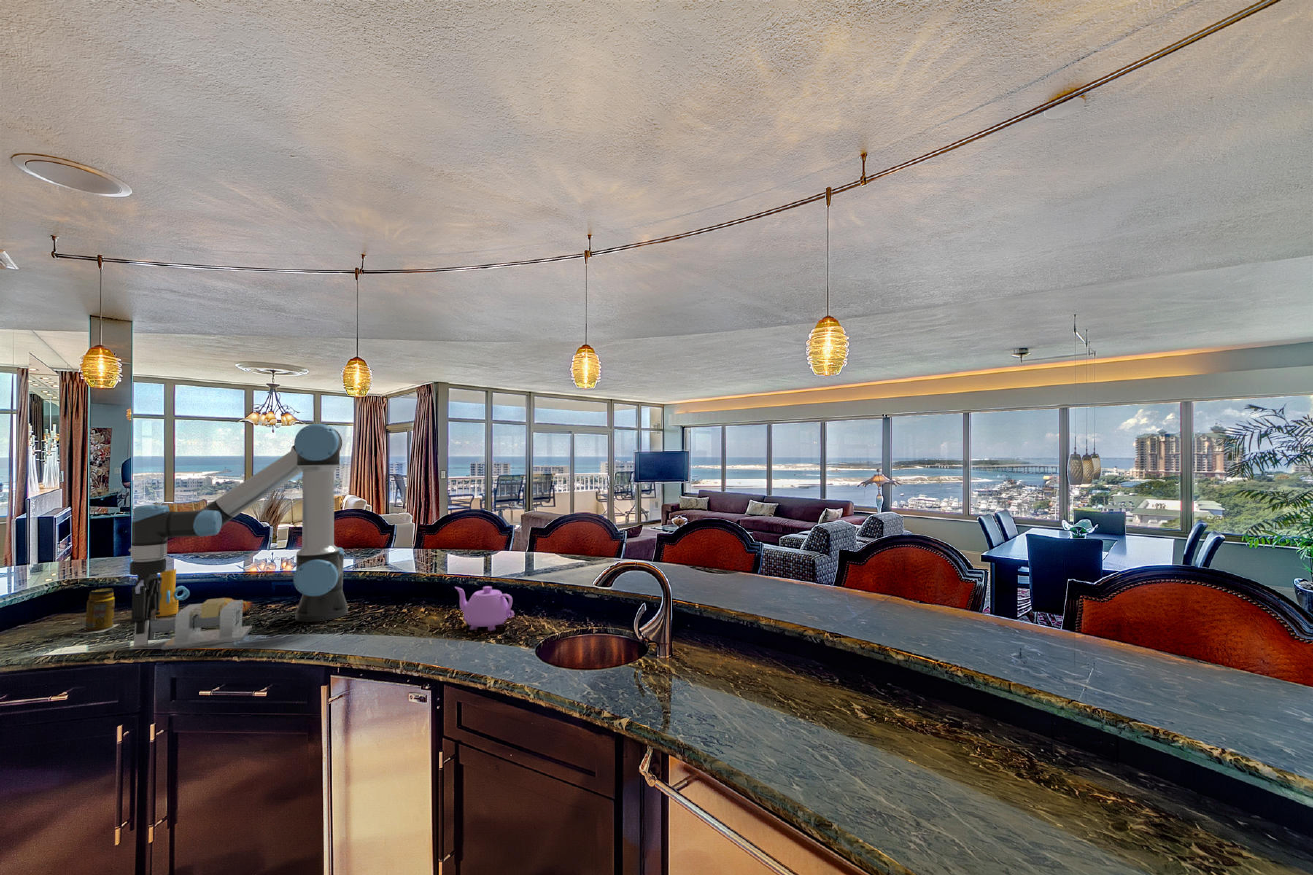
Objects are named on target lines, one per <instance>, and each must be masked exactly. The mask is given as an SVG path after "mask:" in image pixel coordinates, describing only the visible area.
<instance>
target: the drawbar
mask: <svg viewBox="0 0 1313 875" xmlns="http://www.w3.org/2000/svg"><path fill="white" fill-rule="evenodd" d="M155 613H156V609H149V610H148V618H147V621H148V620H149V630H148V641H151V640H150V639H152V638H153V637H154V634H155V635H156V633H158V632H160V633H161V632H170V631H171V632H172V631H175V620H176V616H173V617H163V618H156V619H155ZM238 621H239V611H237V612H236V623H237V622H238ZM218 626H220V615H219V616H218V617H208V618H201V615H195V616H194V617H193V628H199V627H201V628H208V627H218Z"/></svg>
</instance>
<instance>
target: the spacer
mask: <svg viewBox="0 0 1313 875" xmlns="http://www.w3.org/2000/svg"><path fill="white" fill-rule="evenodd" d="M225 598H226V597H220V598H209V599H206V600H205V601H204V602H202V603H201V604H202V605H201V618H208V617H218V616H219V615H220V610H221V609H222V608H223V607H224V603H225Z"/></svg>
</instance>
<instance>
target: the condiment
mask: <svg viewBox="0 0 1313 875" xmlns="http://www.w3.org/2000/svg"><path fill="white" fill-rule="evenodd" d="M88 594H89V596H88V600H87V601H86V602H87V603H86V611H85V612H86V614H85V616H86V617H85V628H84V629H81V630H78V631H77V632H76V631H75V632H74V633H72V635H81V634H82V635H83V634H84V635H85V634H96V633H104V632H107V631H108V630H111V629H113V628H116V627H118V626H119V625H120V623H115V624H114V620H115V619H114V618H115V602H116V601H115V599H116V598H115V596H114V589H113V588H99V589H94V590H91V591H90V592H89V593H88Z"/></svg>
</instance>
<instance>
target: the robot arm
mask: <svg viewBox="0 0 1313 875" xmlns="http://www.w3.org/2000/svg"><path fill="white" fill-rule="evenodd" d="M342 448H343V438H342V436H341V434H340V433H339V432H338V430H336V429H335V428H333V427H332V426H330V425H329V424H324V423H312V424H309V425H305V426H304V427H302V428H301V429H299V431H298V432H297V434H295V437H294V443H293V445H292V446H291V448H290V451H288V452H287V453H286V454H284V455H282V456H281V457H280V458H278V459H276V460H275V461H274V462H271V464H269V465H267V466H266V467H264V468H262V469H261V470H259V471H258V472H256V473H255V474H253V475H252V476H251V477H249V478H247V479H246V480H245V481H243V482H241V483H240V484H238V485H237V486H235V487H233V488H232V489H231V490H228V491H227V492H226V493H224V494H223V495H221V496H220V497H218V498H217V499H215V500H214V501H212V502H210V503H209V504H207V505H205V506H204V507H202V508H200V509H197V510H187V511H186V510H183V511H173V510H172V511H170V507H169V505H168V504H144V505H138V506H136V507H134V509H133V513H132V521H131V543H130V548H129V549H128V552H130V559H131V562H129V575H131V576H137V581H136V582H135V585H134V586H132V587H131V595H132V596H131V597H132V598H131V600H132V601H131V618H130V619H131V620H130V624H134V637H133V647H137V646H146V645H148V644H149V641H151V640H155V638H156V633H155V634H154V637H153V638H152V639H150V640H148V630H149V620H148V621H147V618H148V610H149V609H156V613H155V615H160V612H157V611H159V606H160V590H161V581H162V577H160V576H158V574H160V573H162V572H164V571H165V570H167V558H166V557H167V556H168V538H186V537H187V538H189V537H190V538H191V537H201V538H202V537H203V538H204V537H209V536H211V537H212V536H216V535H218V534H219V533H220V531H221V529H222V528H223V526H225V524H227V523H228V522H229V521H231V520H232V519H233V518H235V517H237V516H238V515H239V514H241V513H242V512H245V511H246V510H247V509H248V508H251V507H252V506H253V505H255V504H256V503H257V502H259V501H260V500H262V499H264V498H265V497H267V496H268V495H270V494H271V493H272V492H275V490H277V489H278V488H280V487H282V486H283V485H284V484H286V483H288V482H289V481H290V480H292V479H293V478H296V477H297V476H298V475H299V474H301V473H302V500H301V501H302V507H301V509H302V512H301V513H302V518H301V523H302V525H301V526H302V529H301V532H302V534H301V538H302V539H301V540H302V542H301V544H302V545H301V546H302V547H301V548H300V549H299V550H298V551H297V552H296V555H295V557H296V562H295V564H296V566H295V572H294V573H293V578H292V579H293V585H294V587H295V589H296V590H297V591H298V592H299V593H300V594H302V596H301V598H300V600H299V603H298V605H297V608H296V610H295V621H297V622H302V623H315V622H324V621H330V620H331V621H332V620H334V619H339V618H342V617H344V616H346V615H347V614H348V613H349V606H348V605H349V604H348V602H347V600H346V597H345V594H344V591H343V589H344V588H343V587H344V586H343V584H344V558H345V553H344V551H345V550H344V547H343V548H342V547H338V546H336V545H335V471H336V470H337V468H339V467H340V465H341V464H340V461H341V460H340V458H341V457H340V455H341V454H340V451H341V450H342ZM155 619H157V616H155Z"/></svg>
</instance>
